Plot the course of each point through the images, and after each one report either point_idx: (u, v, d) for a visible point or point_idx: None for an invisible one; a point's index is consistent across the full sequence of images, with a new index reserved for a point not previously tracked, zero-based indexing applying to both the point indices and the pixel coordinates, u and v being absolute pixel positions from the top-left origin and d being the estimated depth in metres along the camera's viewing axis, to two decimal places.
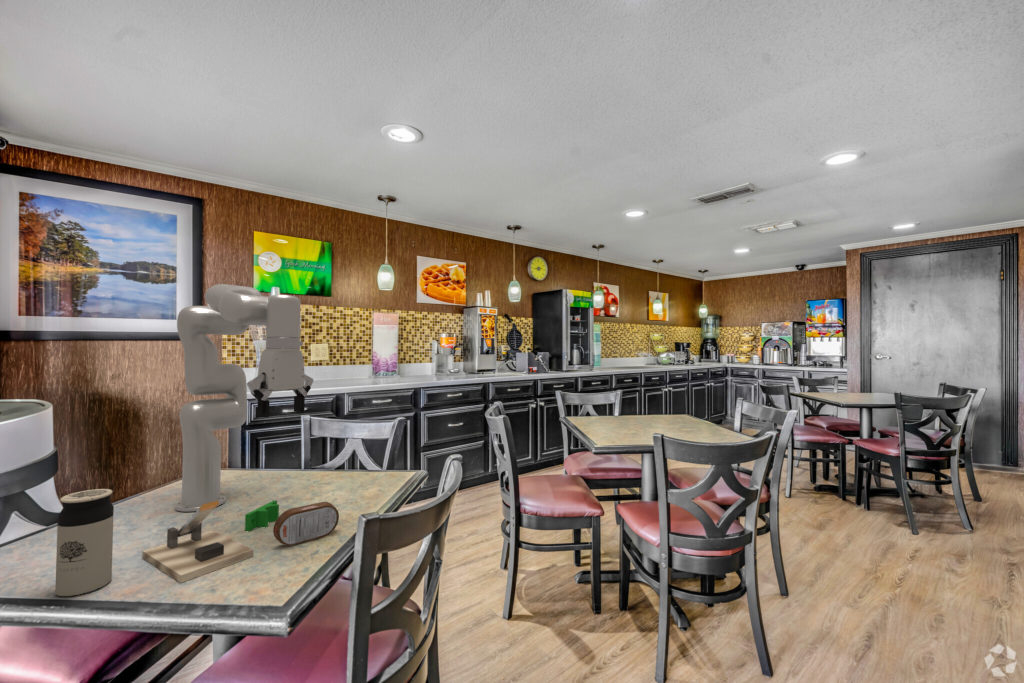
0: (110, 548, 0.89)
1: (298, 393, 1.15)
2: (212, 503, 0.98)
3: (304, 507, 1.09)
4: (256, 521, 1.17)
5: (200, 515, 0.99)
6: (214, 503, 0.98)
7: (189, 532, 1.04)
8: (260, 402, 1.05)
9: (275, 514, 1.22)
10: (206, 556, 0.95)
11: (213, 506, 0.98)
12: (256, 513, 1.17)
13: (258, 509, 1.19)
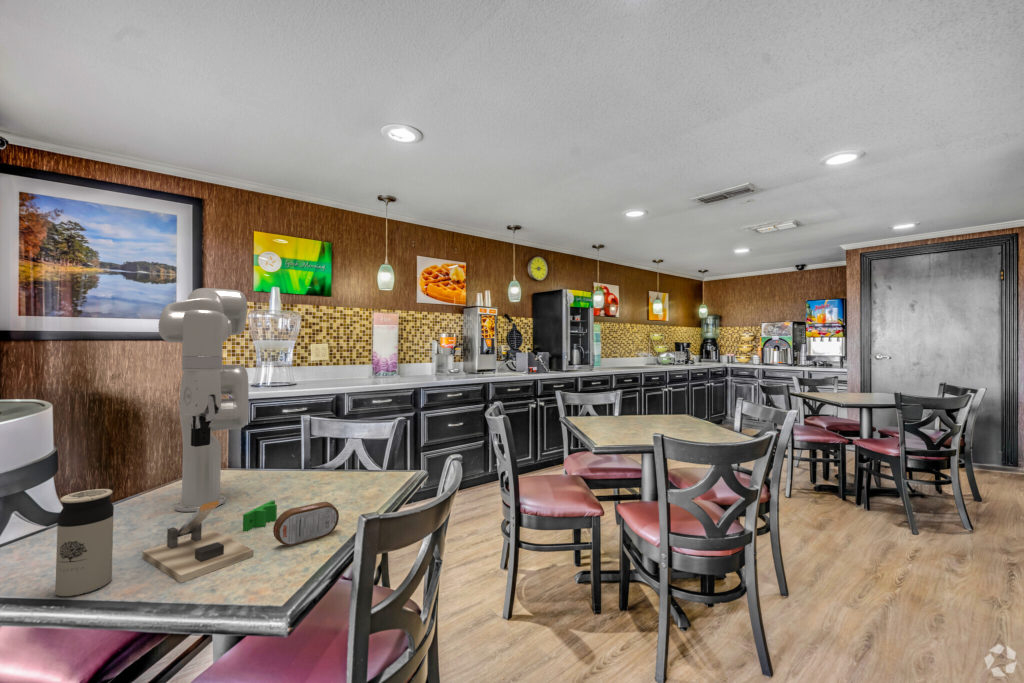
0: (110, 548, 0.89)
1: None
2: (212, 503, 0.98)
3: (304, 507, 1.09)
4: (254, 521, 1.17)
5: (200, 515, 0.99)
6: (214, 503, 0.98)
7: (189, 532, 1.04)
8: (205, 430, 1.00)
9: (273, 514, 1.22)
10: (206, 556, 0.95)
11: (213, 506, 0.98)
12: (254, 513, 1.17)
13: (256, 509, 1.19)
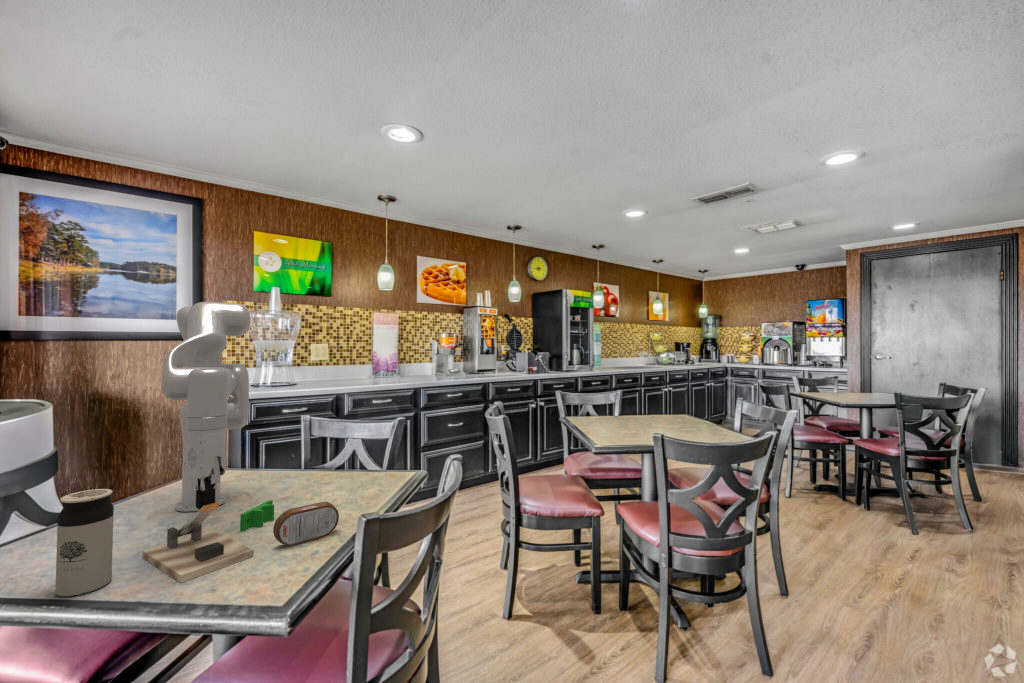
0: (110, 548, 0.89)
1: None
2: (212, 505, 0.98)
3: (304, 507, 1.09)
4: (251, 521, 1.17)
5: (200, 517, 0.99)
6: (214, 505, 0.98)
7: (189, 532, 1.04)
8: (210, 492, 0.98)
9: (270, 514, 1.22)
10: (206, 556, 0.95)
11: (213, 508, 0.98)
12: (251, 513, 1.17)
13: (253, 509, 1.19)
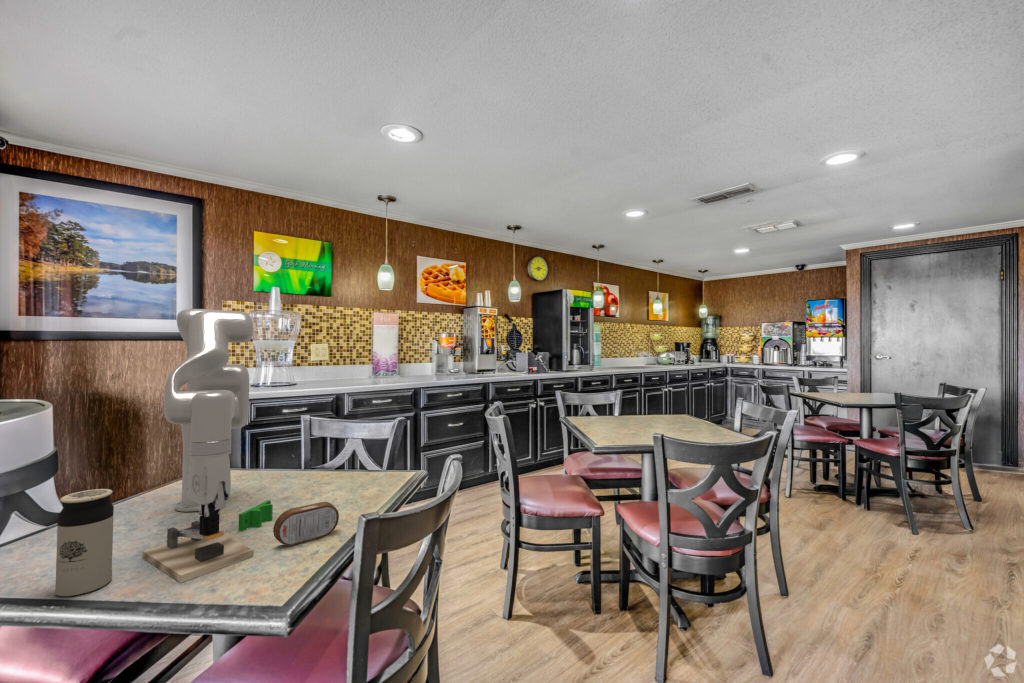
0: (110, 548, 0.89)
1: None
2: (217, 535, 0.96)
3: (304, 507, 1.09)
4: (250, 521, 1.18)
5: None
6: (219, 535, 0.96)
7: None
8: (214, 517, 0.97)
9: (269, 514, 1.22)
10: (206, 556, 0.95)
11: None
12: (250, 513, 1.17)
13: (252, 509, 1.19)
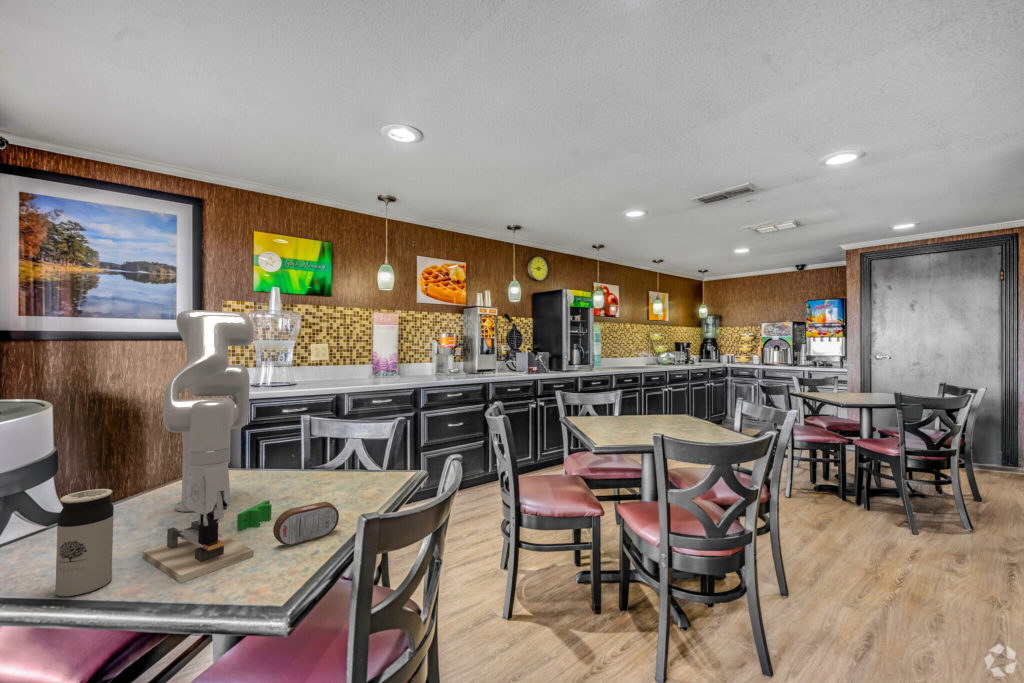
0: (110, 548, 0.89)
1: None
2: (217, 545, 0.96)
3: (304, 507, 1.09)
4: (248, 521, 1.18)
5: None
6: (219, 545, 0.96)
7: None
8: (212, 526, 0.97)
9: (268, 514, 1.22)
10: (206, 556, 0.95)
11: None
12: (248, 513, 1.18)
13: (250, 509, 1.19)
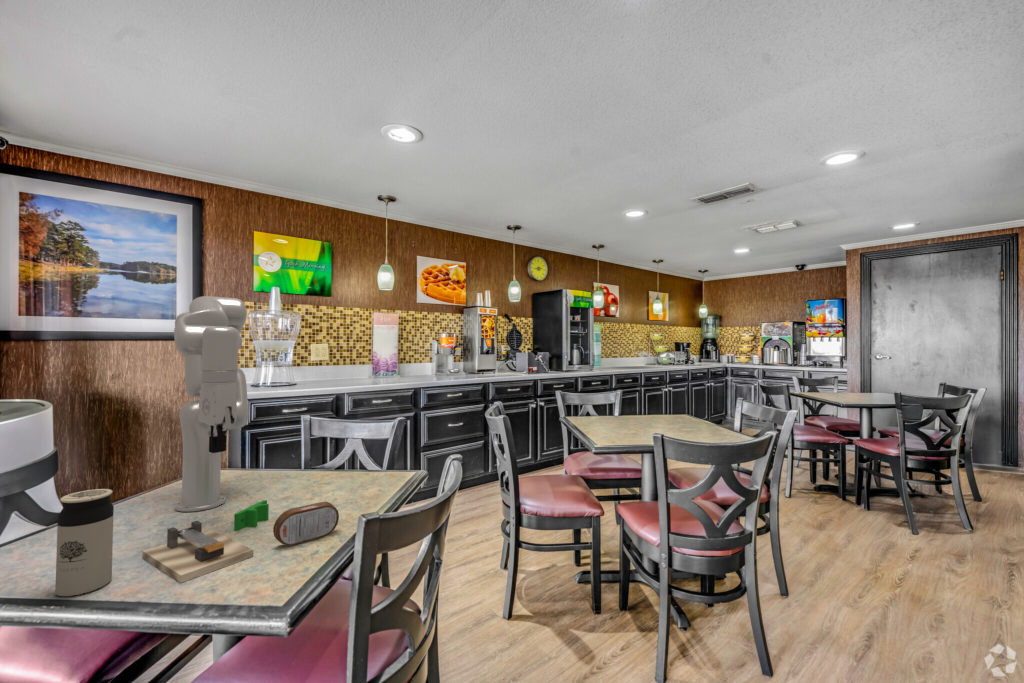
0: (110, 548, 0.89)
1: None
2: (217, 547, 0.96)
3: (304, 507, 1.09)
4: (245, 521, 1.18)
5: None
6: (219, 547, 0.96)
7: None
8: (221, 438, 1.09)
9: (265, 514, 1.22)
10: (206, 556, 0.95)
11: None
12: (245, 512, 1.18)
13: (247, 508, 1.19)
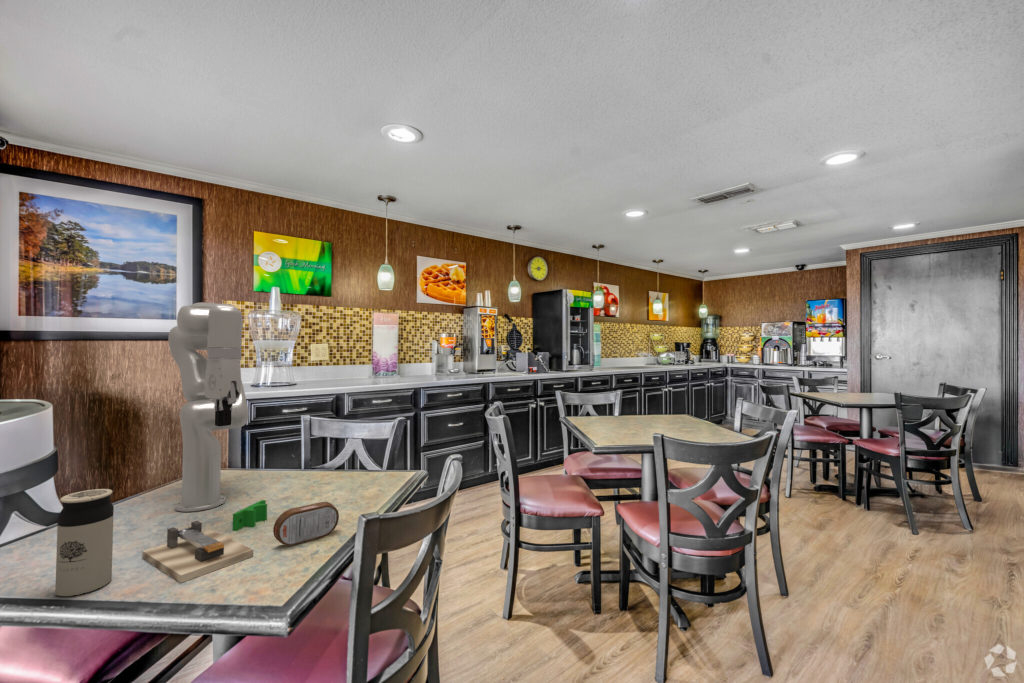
0: (110, 548, 0.89)
1: None
2: (217, 547, 0.96)
3: (304, 507, 1.09)
4: (244, 521, 1.18)
5: None
6: (219, 547, 0.96)
7: None
8: (227, 412, 1.15)
9: (263, 513, 1.22)
10: (206, 556, 0.95)
11: None
12: (244, 512, 1.18)
13: (246, 508, 1.19)
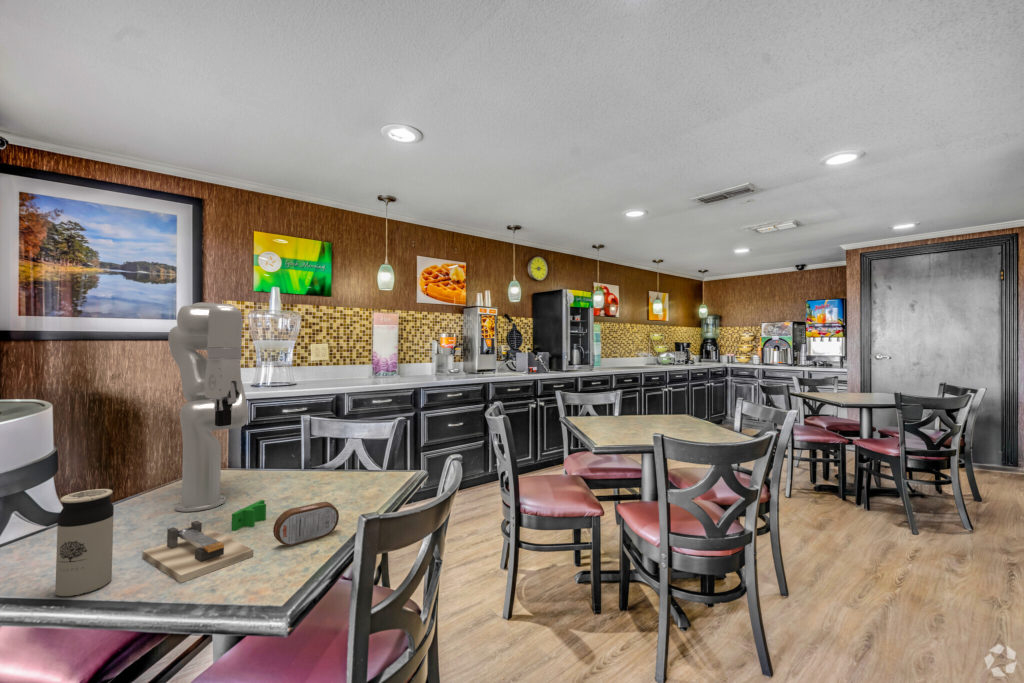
0: (110, 548, 0.89)
1: None
2: (217, 547, 0.96)
3: (304, 507, 1.09)
4: (243, 521, 1.18)
5: None
6: (219, 547, 0.96)
7: None
8: (227, 412, 1.15)
9: (262, 513, 1.22)
10: (206, 556, 0.95)
11: None
12: (243, 512, 1.18)
13: (245, 508, 1.19)
